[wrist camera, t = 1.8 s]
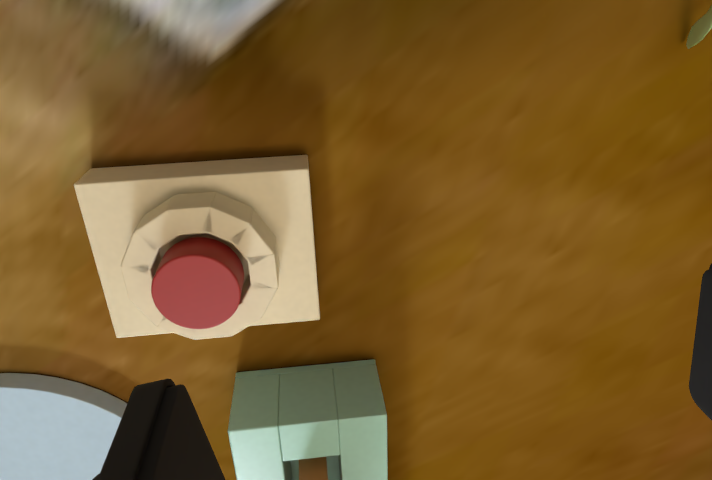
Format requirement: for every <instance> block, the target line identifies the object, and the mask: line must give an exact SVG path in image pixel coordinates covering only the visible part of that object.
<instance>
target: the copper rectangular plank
mask: <svg viewBox="0 0 712 480" xmlns="http://www.w3.org/2000/svg"><path fill="white" fill-rule="evenodd" d="M299 480H328V469H327V457H318V458H309V459H300V460H299Z"/></svg>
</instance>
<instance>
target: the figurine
mask: <svg viewBox="0 0 712 480" xmlns="http://www.w3.org/2000/svg"><path fill="white" fill-rule="evenodd" d="M711 28H712V5H711V7H710V8H709V10H708V12H707V13H706V14H705V15H704V16H703V17H702V18H700V19H699V20H698V21H697V22H696V23H695V24H694V25H693V26H692V28H691V30H690V33H689V35H688V39H687V47H688V49H689V48H691V47H693V46H694V45H696V44H697V43H698V42H700V41H701V40H702V39H703V38H704V37H705V36H706V34H707V33H708V32H709V31H710V29H711Z"/></svg>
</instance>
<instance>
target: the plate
mask: <svg viewBox="0 0 712 480" xmlns="http://www.w3.org/2000/svg"><path fill="white" fill-rule="evenodd" d="M126 406H127V403H126V402H124V401H122V400H121V399H118V398H116V397H114V396H112V395H110V394H108V393H106V392H103V391H101V390H99V389H96V388H93V387H90V386H87V385H84V384H81V383H78V382H74V381H70V380H66V379H62V378H57V377H51V376H44V375H37V374H24V373H0V480H92V479H93V478H94V477H95V476H97V475H98V474H100V472H101V469H102V467H103V464H104V462H105V459H106V457H107V454H108V451H109V449H110V446H111V444H112V441H113V439H114V436H115V434H116V431H117V429H118V426H119V424H120V421H121V419H122V416H123V413H124V411H125V408H126Z"/></svg>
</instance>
